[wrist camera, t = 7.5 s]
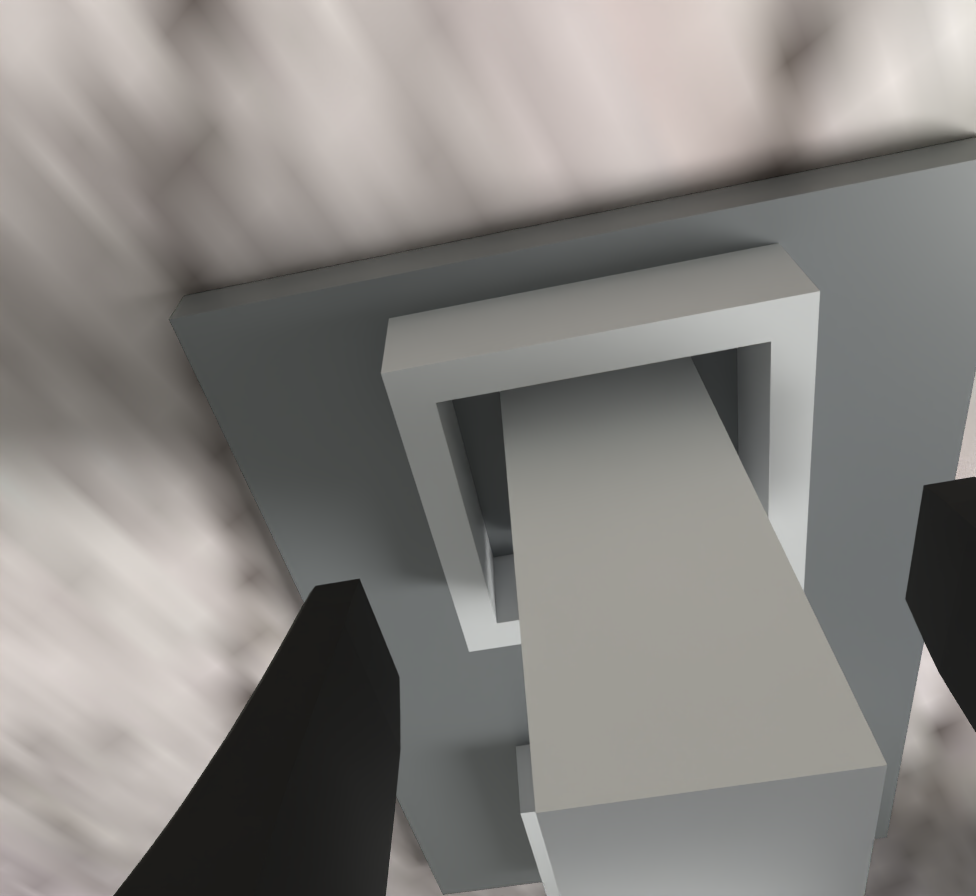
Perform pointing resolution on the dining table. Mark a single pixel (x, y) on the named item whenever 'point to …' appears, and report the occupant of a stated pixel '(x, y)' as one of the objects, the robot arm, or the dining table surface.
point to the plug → (674, 656)
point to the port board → (589, 350)
